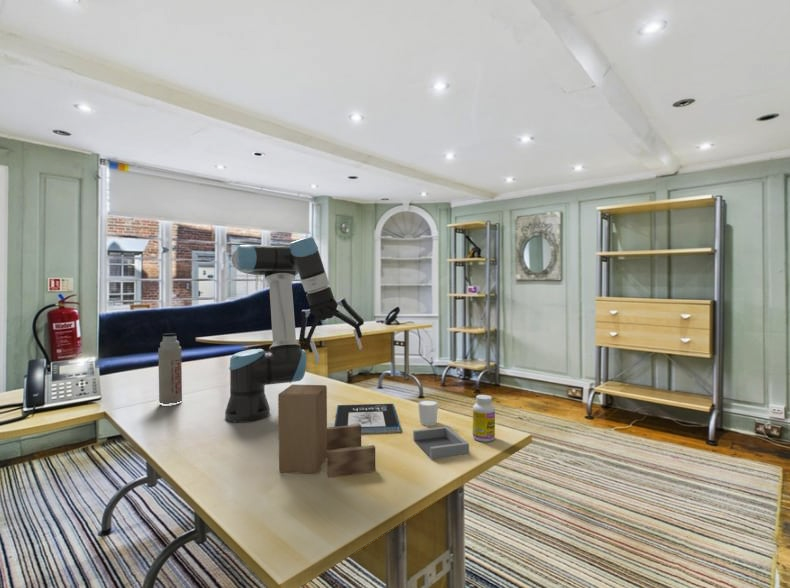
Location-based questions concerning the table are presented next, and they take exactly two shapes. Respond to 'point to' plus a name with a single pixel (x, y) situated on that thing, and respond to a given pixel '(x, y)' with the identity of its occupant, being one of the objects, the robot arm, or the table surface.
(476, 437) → the supplement bottle
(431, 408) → the white cup
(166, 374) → the thermos bottle
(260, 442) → the table surface
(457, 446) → the grey shallow rectangular tray
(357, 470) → the parallel wooden walls
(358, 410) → the sketchbook
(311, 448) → the wooden block
